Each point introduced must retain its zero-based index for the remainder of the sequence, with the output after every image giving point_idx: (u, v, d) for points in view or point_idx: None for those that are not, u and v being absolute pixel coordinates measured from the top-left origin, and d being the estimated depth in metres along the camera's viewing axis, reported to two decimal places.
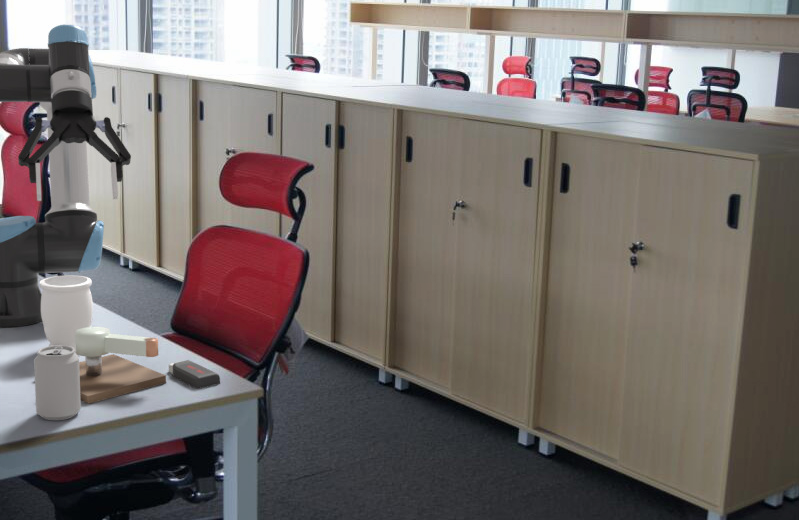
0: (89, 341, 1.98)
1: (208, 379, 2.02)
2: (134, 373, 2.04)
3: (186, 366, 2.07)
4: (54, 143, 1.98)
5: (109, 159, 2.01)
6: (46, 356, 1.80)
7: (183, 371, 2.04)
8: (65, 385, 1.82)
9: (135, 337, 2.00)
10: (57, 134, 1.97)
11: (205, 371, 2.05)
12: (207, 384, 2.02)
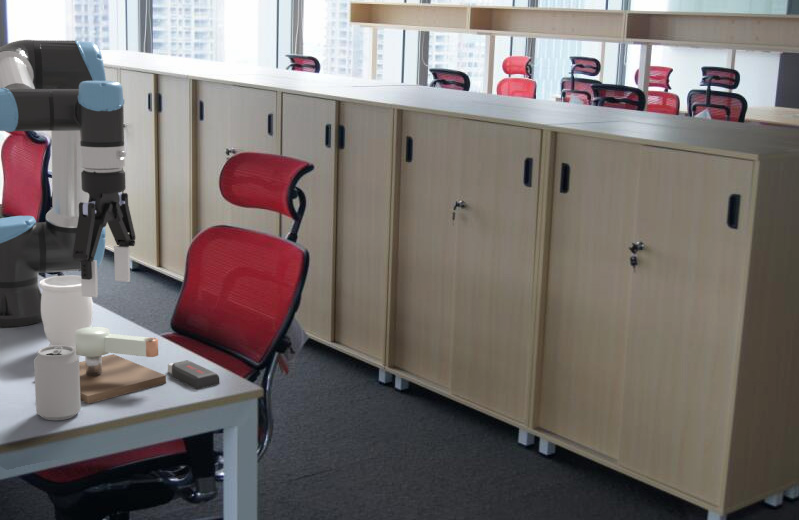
0: (89, 341, 1.98)
1: (207, 379, 2.02)
2: (134, 373, 2.04)
3: (186, 366, 2.07)
4: None
5: (118, 238, 1.94)
6: (46, 356, 1.80)
7: (183, 371, 2.04)
8: (65, 385, 1.82)
9: (135, 337, 2.00)
10: (105, 222, 1.85)
11: (204, 371, 2.04)
12: (206, 384, 2.02)
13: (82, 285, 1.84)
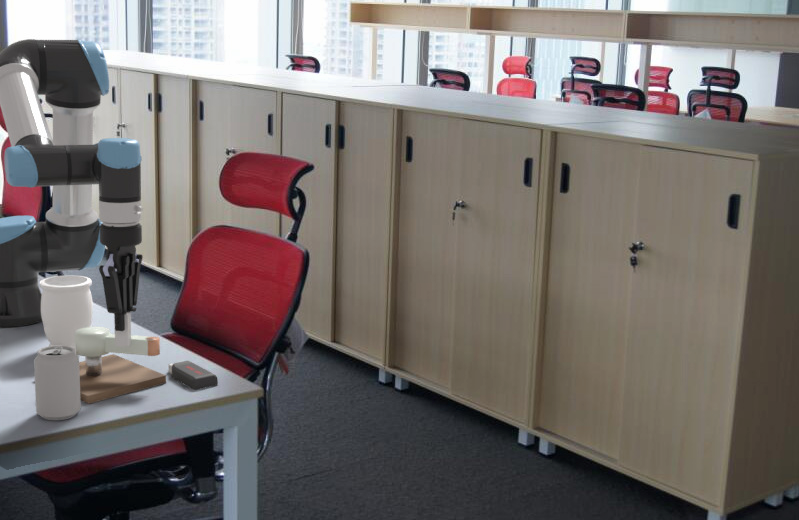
0: (90, 341, 1.98)
1: (205, 380, 2.02)
2: (134, 373, 2.04)
3: (185, 366, 2.07)
4: None
5: None
6: (46, 356, 1.80)
7: (182, 372, 2.04)
8: (65, 385, 1.82)
9: (136, 336, 2.00)
10: (127, 274, 1.94)
11: (203, 372, 2.04)
12: (204, 385, 2.02)
13: (116, 336, 1.98)
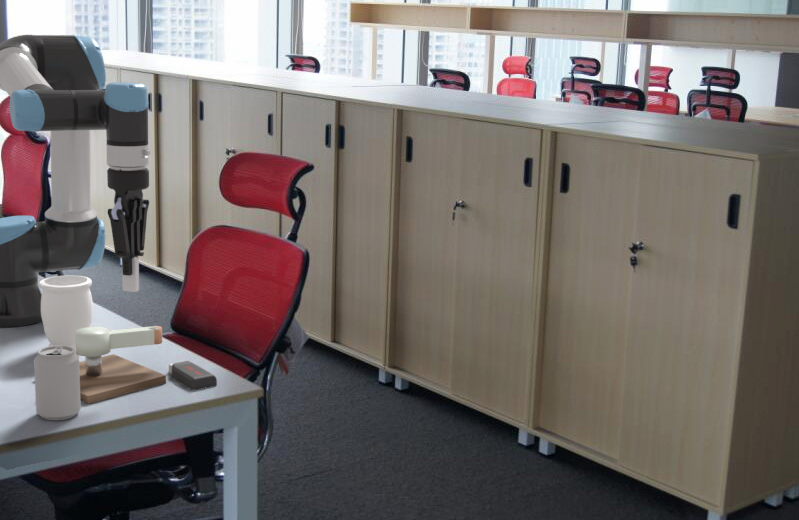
0: (101, 340, 1.99)
1: (204, 380, 2.01)
2: (134, 373, 2.04)
3: (185, 367, 2.06)
4: None
5: None
6: (46, 356, 1.80)
7: (181, 372, 2.04)
8: (65, 385, 1.82)
9: (137, 328, 2.05)
10: (135, 218, 1.95)
11: (202, 372, 2.04)
12: (203, 385, 2.01)
13: (123, 281, 1.99)
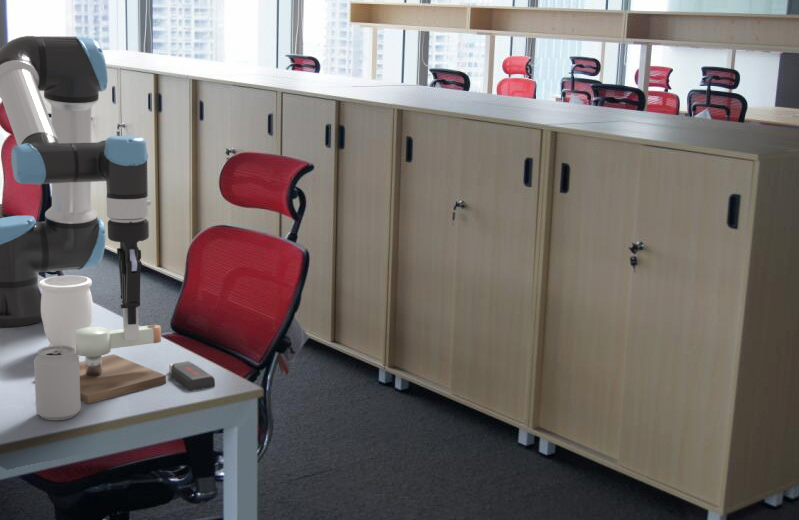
0: (102, 340, 1.99)
1: (202, 381, 2.01)
2: (134, 373, 2.04)
3: (185, 367, 2.06)
4: None
5: None
6: (46, 356, 1.80)
7: (180, 372, 2.04)
8: (65, 385, 1.82)
9: None
10: None
11: (201, 373, 2.03)
12: (201, 386, 2.01)
13: (126, 330, 2.02)
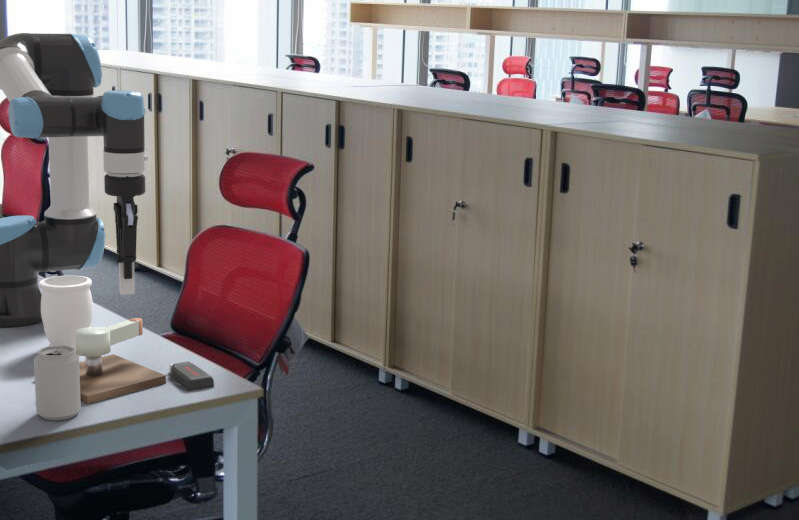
0: (108, 338, 2.01)
1: (201, 381, 2.01)
2: (134, 373, 2.04)
3: (184, 367, 2.06)
4: None
5: None
6: (46, 356, 1.80)
7: (179, 372, 2.04)
8: (65, 385, 1.82)
9: (122, 323, 2.09)
10: None
11: (200, 373, 2.03)
12: (200, 387, 2.01)
13: (121, 285, 2.03)
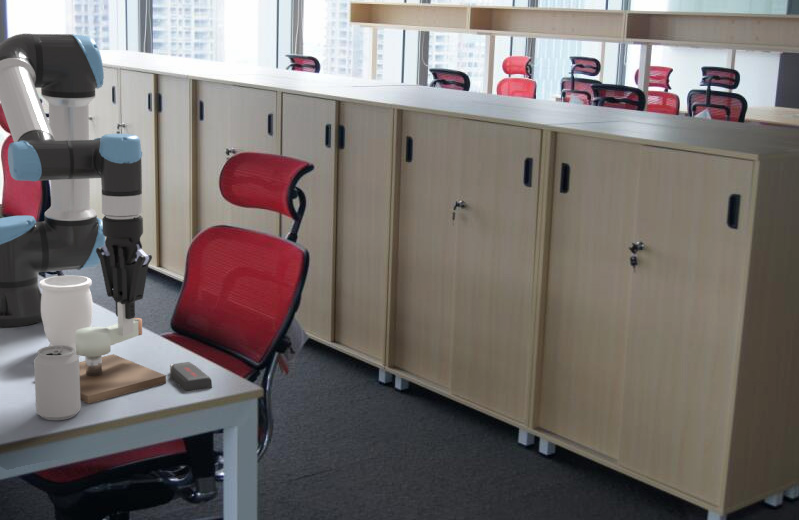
0: (108, 338, 2.01)
1: (198, 382, 2.00)
2: (134, 373, 2.04)
3: (184, 368, 2.06)
4: None
5: (120, 290, 2.05)
6: (46, 356, 1.80)
7: (178, 373, 2.03)
8: (65, 385, 1.82)
9: None
10: None
11: (198, 374, 2.02)
12: (197, 387, 2.00)
13: (124, 325, 2.05)
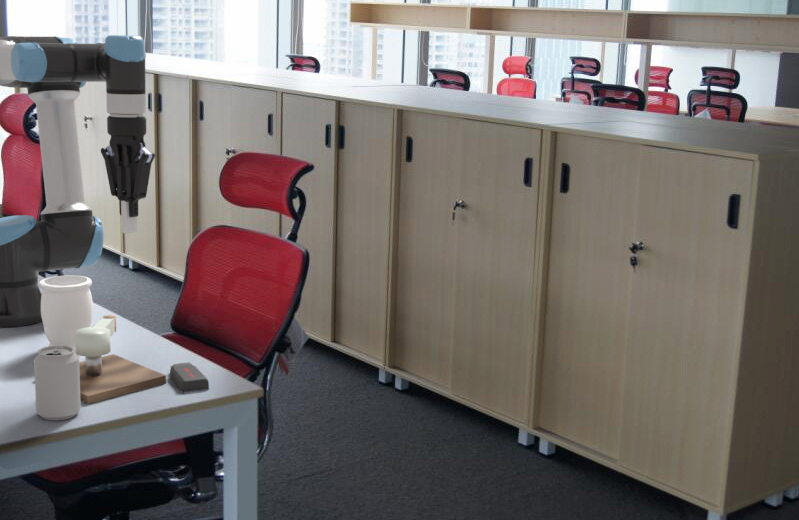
0: None
1: (195, 383, 2.00)
2: (134, 373, 2.04)
3: (183, 368, 2.06)
4: None
5: (124, 189, 2.11)
6: (46, 356, 1.80)
7: (176, 373, 2.03)
8: (65, 385, 1.82)
9: (102, 321, 2.09)
10: None
11: (196, 375, 2.02)
12: (194, 388, 2.00)
13: (127, 224, 2.11)
